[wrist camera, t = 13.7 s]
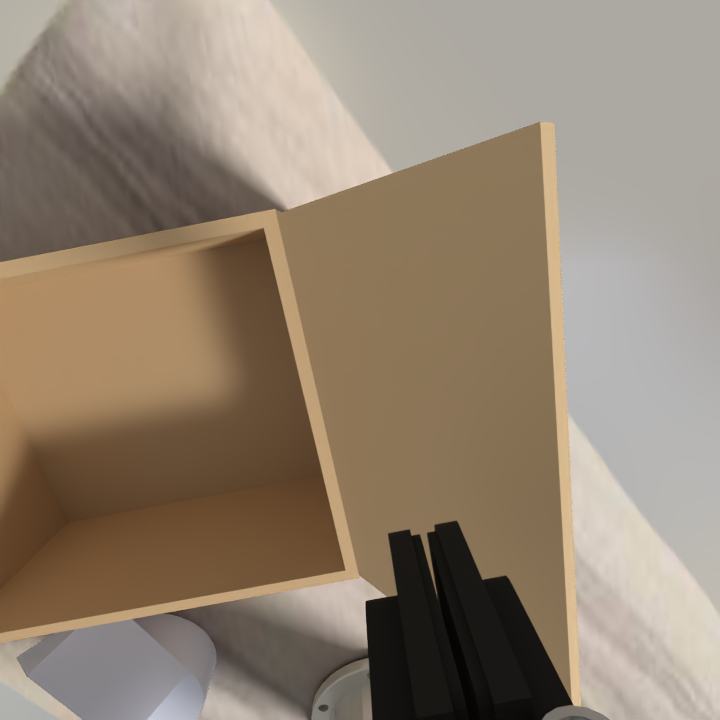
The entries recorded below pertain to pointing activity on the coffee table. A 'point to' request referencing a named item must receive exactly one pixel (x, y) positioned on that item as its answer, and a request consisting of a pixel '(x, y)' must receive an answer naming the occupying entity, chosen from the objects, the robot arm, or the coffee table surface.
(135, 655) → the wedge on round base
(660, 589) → the coffee table surface
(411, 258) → the flap
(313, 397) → the carton
